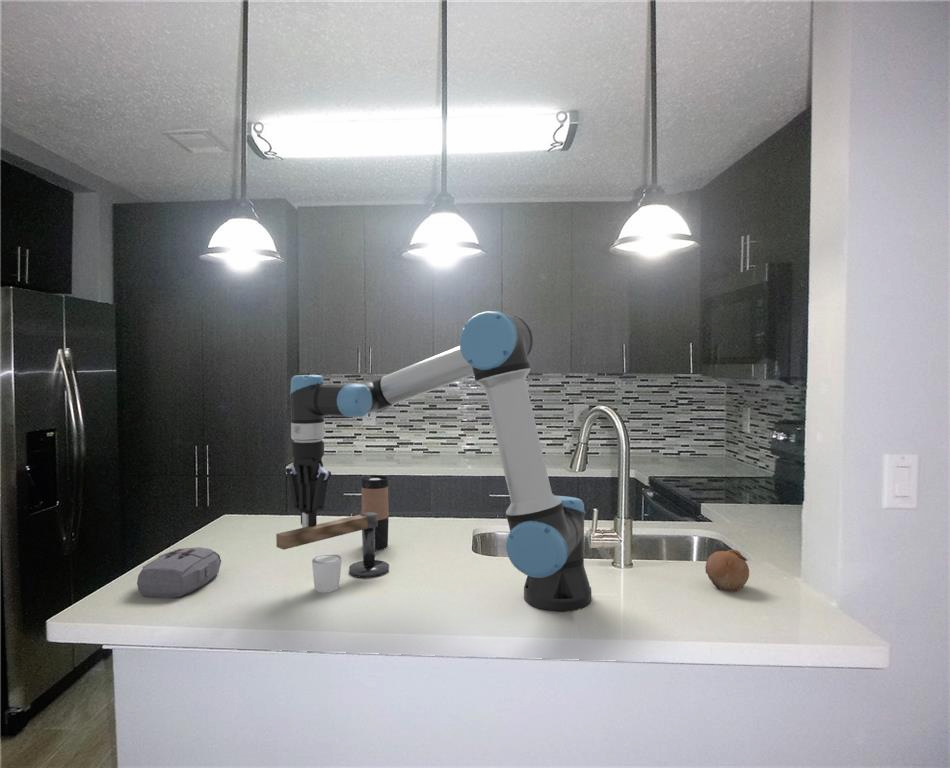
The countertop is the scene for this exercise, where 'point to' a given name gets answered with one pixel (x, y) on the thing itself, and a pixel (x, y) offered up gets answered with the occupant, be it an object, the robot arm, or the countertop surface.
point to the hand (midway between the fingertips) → (308, 539)
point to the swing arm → (326, 530)
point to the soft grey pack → (178, 572)
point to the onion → (727, 570)
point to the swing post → (369, 559)
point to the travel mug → (377, 506)
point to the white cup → (326, 572)
